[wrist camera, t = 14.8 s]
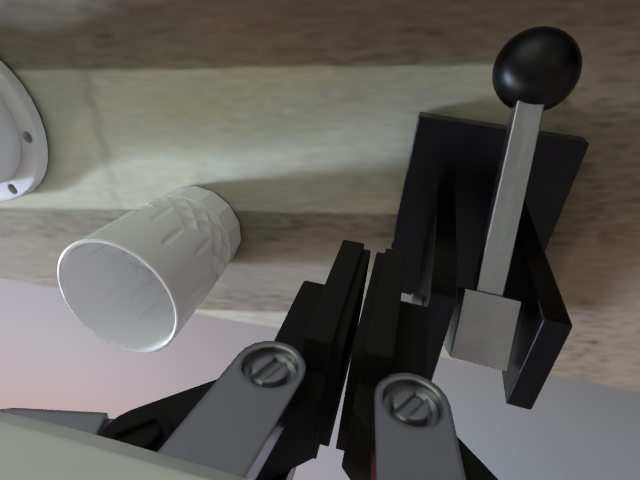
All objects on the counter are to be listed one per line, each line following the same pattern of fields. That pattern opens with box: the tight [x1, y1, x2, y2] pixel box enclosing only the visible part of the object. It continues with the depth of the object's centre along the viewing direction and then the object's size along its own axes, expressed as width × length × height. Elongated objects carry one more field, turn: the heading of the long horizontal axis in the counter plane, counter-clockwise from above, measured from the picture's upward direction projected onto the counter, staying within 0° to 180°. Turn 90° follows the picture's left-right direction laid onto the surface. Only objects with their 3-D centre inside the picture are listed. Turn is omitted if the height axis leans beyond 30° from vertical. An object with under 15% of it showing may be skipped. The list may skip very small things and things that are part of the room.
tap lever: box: [444, 26, 582, 371], centre depth 18 cm, size 14×3×3 cm, turn 174°
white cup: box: [57, 186, 241, 353], centre depth 29 cm, size 8×8×10 cm
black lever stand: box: [391, 112, 589, 409], centre depth 22 cm, size 12×9×13 cm
